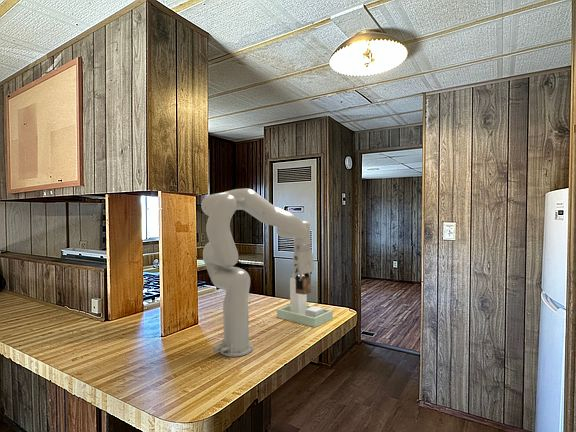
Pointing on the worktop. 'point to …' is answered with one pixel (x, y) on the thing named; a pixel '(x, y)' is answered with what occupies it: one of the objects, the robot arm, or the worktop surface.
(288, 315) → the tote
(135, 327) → the worktop surface
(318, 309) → the white block
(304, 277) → the walnut block
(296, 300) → the milk
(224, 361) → the worktop surface
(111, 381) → the worktop surface
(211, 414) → the worktop surface
